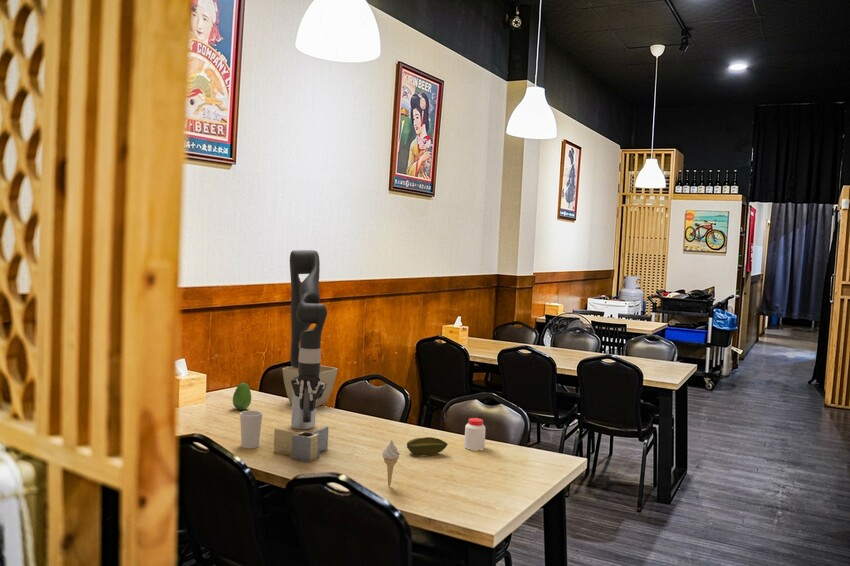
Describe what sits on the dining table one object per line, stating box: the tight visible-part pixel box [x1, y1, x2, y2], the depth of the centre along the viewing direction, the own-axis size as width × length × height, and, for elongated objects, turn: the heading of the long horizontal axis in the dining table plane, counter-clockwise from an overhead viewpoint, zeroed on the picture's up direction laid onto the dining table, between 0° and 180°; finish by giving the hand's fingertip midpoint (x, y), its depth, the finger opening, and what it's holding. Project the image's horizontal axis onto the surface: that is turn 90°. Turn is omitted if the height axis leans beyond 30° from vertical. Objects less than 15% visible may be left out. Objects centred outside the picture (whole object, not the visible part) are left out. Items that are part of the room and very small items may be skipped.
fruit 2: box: [406, 436, 448, 456], centre depth 257 cm, size 11×12×7 cm
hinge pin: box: [302, 388, 313, 423], centre depth 244 cm, size 3×3×12 cm
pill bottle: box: [463, 417, 486, 450], centre depth 268 cm, size 8×8×11 cm
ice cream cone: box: [381, 439, 401, 487], centre depth 220 cm, size 6×6×15 cm
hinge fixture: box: [273, 425, 329, 463], centre depth 251 cm, size 17×17×8 cm
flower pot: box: [282, 365, 338, 408], centre depth 326 cm, size 19×19×17 cm
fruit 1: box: [232, 382, 252, 411], centre depth 309 cm, size 8×8×12 cm
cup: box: [239, 410, 263, 449], centre depth 256 cm, size 8×8×12 cm
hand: (307, 409), depth 244 cm, fingers closed on hinge pin, 3 cm apart
